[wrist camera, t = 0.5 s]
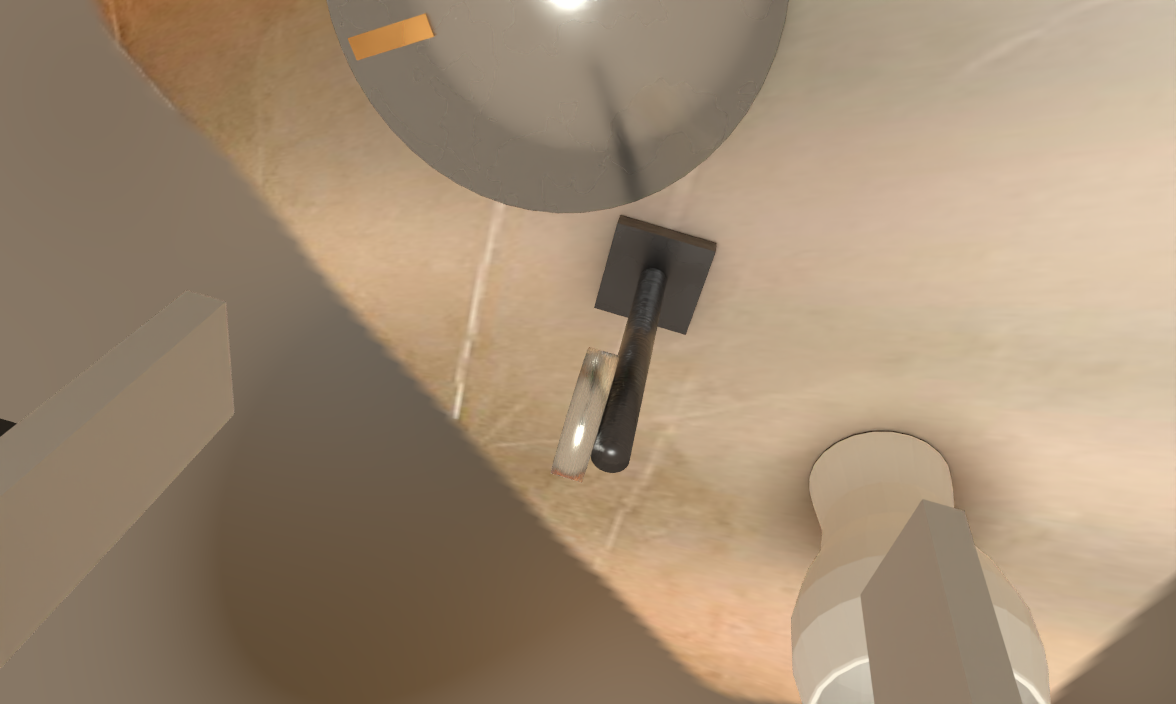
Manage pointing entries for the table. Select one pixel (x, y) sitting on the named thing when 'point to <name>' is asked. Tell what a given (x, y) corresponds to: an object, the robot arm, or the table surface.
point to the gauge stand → (630, 340)
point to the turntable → (561, 88)
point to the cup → (855, 550)
